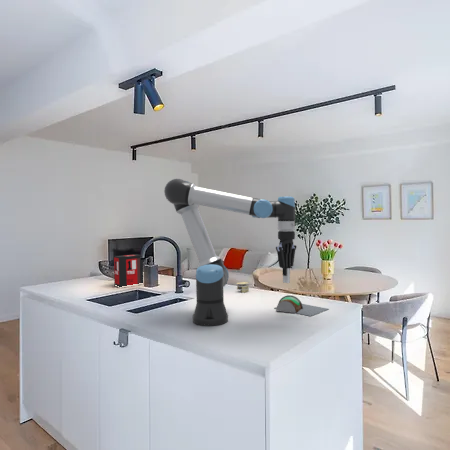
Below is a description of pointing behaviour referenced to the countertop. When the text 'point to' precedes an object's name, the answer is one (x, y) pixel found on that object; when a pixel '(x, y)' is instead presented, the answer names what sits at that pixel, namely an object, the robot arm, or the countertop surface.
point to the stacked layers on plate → (243, 287)
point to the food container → (289, 304)
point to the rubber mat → (310, 310)
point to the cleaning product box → (128, 270)
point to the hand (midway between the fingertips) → (286, 282)
